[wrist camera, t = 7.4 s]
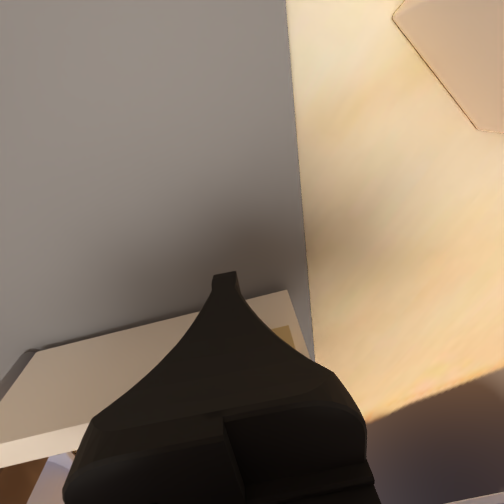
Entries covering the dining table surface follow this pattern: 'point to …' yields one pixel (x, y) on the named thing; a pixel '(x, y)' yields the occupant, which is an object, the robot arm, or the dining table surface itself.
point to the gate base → (143, 165)
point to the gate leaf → (99, 379)
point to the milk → (462, 52)
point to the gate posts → (19, 481)
